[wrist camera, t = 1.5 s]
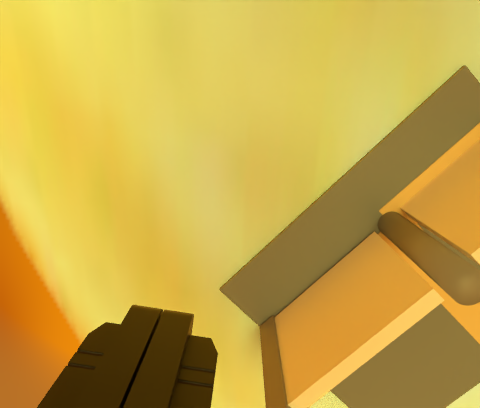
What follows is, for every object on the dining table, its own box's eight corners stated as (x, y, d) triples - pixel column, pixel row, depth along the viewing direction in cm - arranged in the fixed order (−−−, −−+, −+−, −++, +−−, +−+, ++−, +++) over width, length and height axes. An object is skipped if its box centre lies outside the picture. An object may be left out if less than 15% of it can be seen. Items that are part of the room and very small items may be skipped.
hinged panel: (372, 229, 36) (436, 291, 24) (384, 242, 37) (453, 309, 25) (259, 326, 39) (267, 425, 27) (271, 337, 39) (284, 440, 27)
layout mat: (462, 66, 33) (466, 65, 33) (627, 271, 38) (632, 273, 38) (219, 288, 39) (219, 290, 38) (390, 443, 44) (392, 446, 43)
